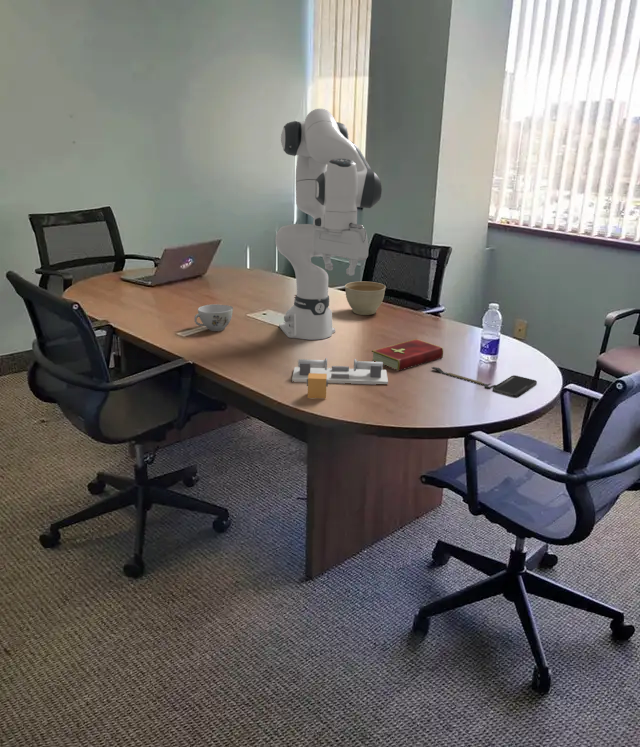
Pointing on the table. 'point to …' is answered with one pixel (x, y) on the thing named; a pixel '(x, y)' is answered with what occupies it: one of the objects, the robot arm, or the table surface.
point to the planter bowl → (364, 296)
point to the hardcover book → (407, 354)
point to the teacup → (214, 316)
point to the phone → (514, 386)
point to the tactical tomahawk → (463, 378)
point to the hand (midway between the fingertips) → (339, 272)
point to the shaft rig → (342, 372)
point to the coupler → (317, 385)
